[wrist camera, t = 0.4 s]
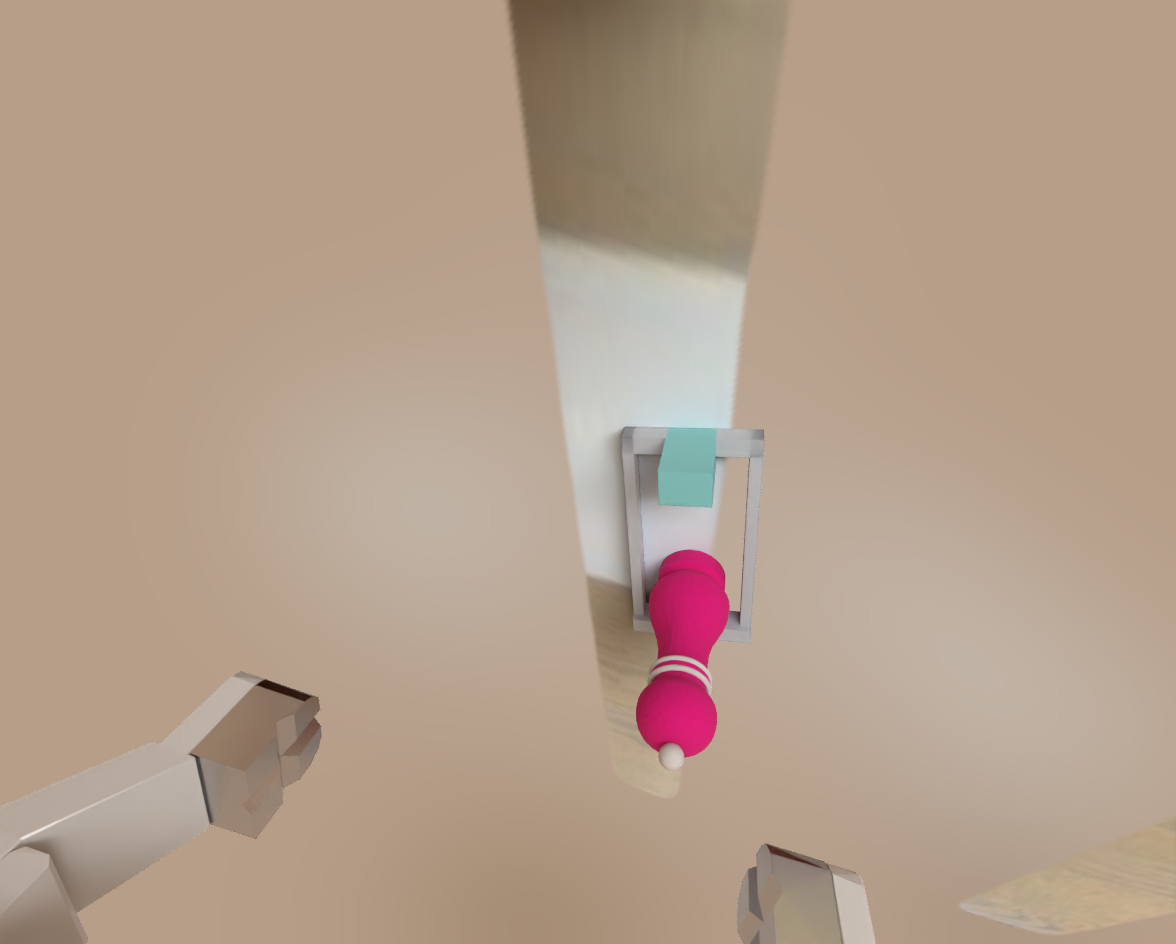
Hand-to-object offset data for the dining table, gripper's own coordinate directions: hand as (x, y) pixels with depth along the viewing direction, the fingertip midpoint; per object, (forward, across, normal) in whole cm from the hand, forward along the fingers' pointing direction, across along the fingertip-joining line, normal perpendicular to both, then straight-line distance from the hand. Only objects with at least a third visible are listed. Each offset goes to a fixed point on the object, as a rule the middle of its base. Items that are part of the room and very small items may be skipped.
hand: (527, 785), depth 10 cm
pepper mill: (+41, -7, +23) cm, 48 cm away
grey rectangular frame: (+40, -5, +18) cm, 45 cm away
